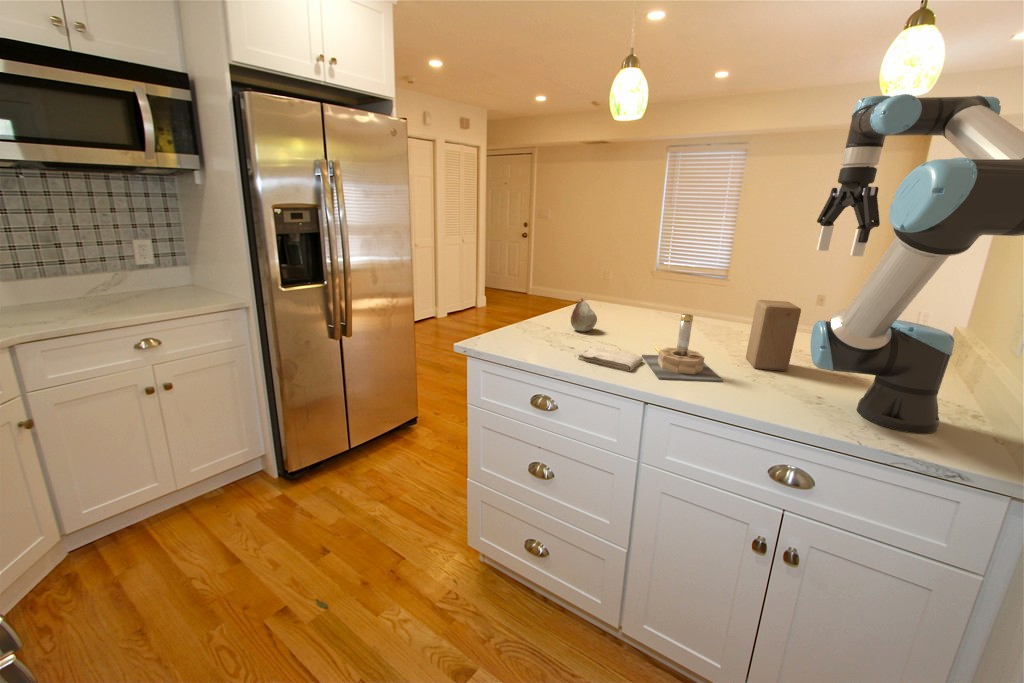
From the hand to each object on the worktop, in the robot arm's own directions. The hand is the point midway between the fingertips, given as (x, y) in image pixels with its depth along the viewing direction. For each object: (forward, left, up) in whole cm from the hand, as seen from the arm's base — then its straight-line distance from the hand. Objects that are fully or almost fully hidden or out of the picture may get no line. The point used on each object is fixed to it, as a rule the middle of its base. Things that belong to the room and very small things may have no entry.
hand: (838, 253), depth 120 cm
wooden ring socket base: (+8, +34, -37) cm, 51 cm away
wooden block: (+14, +5, -37) cm, 40 cm away
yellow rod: (+23, +36, -37) cm, 56 cm away
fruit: (+47, +59, -37) cm, 84 cm away
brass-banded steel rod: (+8, +34, -36) cm, 50 cm away
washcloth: (+12, +54, -37) cm, 67 cm away
